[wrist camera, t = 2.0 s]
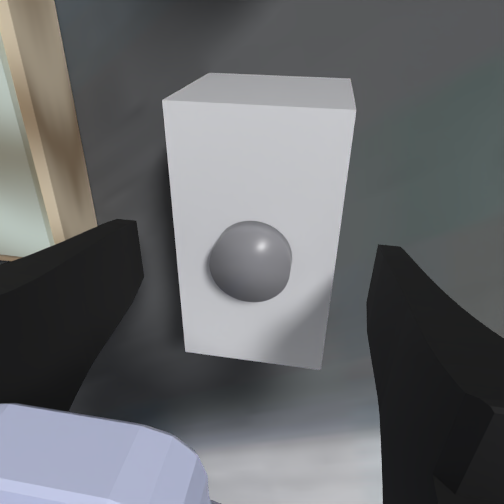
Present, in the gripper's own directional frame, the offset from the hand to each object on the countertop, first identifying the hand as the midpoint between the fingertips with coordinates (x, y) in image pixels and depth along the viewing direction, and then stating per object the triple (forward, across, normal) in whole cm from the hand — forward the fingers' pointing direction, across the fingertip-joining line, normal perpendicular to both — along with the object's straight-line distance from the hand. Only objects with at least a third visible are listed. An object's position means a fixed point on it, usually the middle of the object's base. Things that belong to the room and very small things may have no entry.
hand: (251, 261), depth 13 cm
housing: (+6, 0, 0) cm, 6 cm away
